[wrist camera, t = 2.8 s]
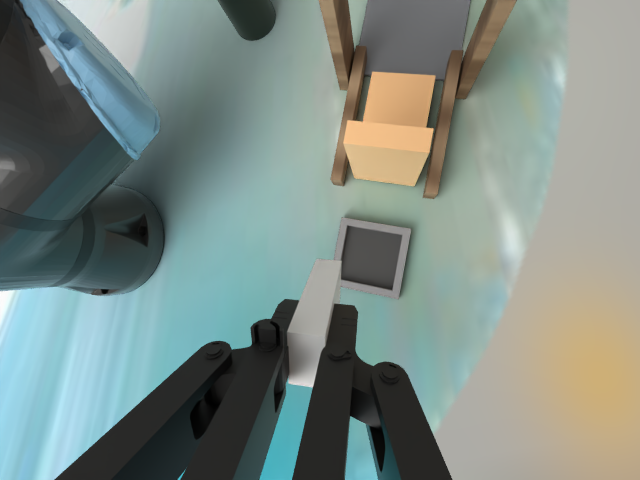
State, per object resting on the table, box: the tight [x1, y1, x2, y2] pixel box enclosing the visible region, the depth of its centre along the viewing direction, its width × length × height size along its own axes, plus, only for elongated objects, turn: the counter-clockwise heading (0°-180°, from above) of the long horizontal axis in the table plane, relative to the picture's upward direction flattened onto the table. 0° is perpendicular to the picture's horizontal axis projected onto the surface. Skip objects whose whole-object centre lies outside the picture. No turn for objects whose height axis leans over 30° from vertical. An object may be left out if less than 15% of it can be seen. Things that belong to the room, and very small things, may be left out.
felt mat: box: [359, 0, 471, 81], centre depth 36 cm, size 11×12×1 cm
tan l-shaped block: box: [343, 72, 436, 186], centre depth 30 cm, size 12×7×11 cm, turn 169°
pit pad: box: [334, 217, 411, 299], centre depth 35 cm, size 8×8×1 cm
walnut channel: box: [319, 0, 517, 199], centre depth 29 cm, size 16×15×16 cm
